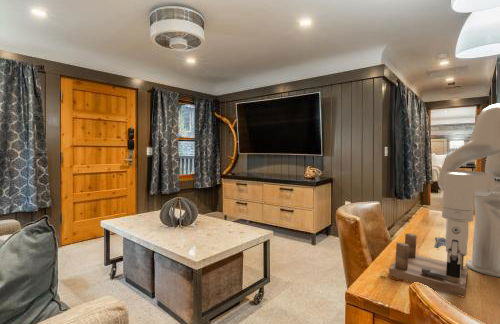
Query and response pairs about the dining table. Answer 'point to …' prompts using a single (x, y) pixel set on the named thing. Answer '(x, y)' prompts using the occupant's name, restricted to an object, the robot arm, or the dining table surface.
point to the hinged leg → (443, 275)
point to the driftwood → (440, 242)
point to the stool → (412, 264)
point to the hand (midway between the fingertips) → (453, 271)
